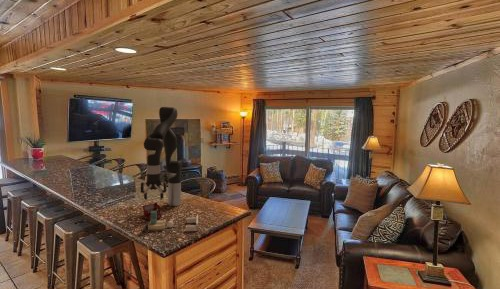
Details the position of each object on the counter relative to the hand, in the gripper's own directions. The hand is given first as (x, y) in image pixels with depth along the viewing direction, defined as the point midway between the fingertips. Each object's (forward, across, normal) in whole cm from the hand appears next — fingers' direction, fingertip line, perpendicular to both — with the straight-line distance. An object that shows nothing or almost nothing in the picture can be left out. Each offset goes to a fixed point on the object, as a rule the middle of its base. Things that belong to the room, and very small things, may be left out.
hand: (153, 199), depth 156 cm
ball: (+18, -10, 0) cm, 20 cm away
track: (+18, -6, 0) cm, 18 cm away
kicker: (+17, -2, 0) cm, 17 cm away
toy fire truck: (+18, +3, -14) cm, 23 cm away
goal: (+18, -22, 0) cm, 29 cm away
